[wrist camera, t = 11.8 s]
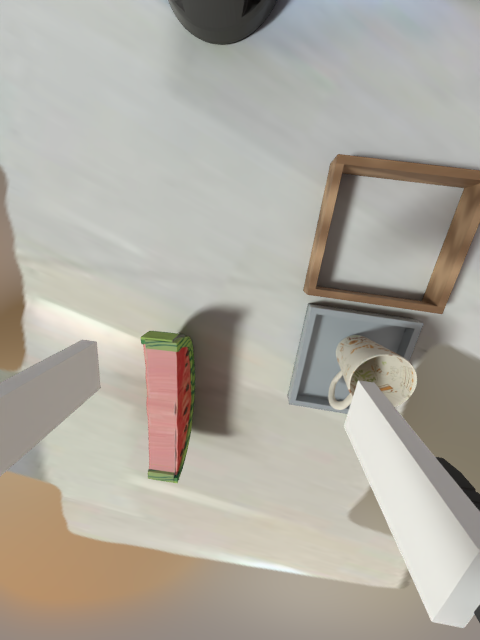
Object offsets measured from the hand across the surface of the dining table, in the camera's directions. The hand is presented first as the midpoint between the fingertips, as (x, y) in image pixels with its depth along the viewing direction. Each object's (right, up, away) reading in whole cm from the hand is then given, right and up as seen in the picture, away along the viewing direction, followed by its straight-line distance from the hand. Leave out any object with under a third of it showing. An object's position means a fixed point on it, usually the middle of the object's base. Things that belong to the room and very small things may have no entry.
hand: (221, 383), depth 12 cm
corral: (+22, +15, +23) cm, 35 cm away
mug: (+19, -4, +29) cm, 35 cm away
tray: (+19, -4, +29) cm, 35 cm away
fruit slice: (-10, -9, +34) cm, 36 cm away
